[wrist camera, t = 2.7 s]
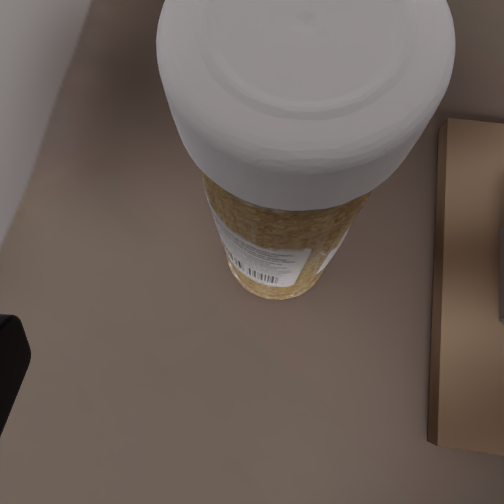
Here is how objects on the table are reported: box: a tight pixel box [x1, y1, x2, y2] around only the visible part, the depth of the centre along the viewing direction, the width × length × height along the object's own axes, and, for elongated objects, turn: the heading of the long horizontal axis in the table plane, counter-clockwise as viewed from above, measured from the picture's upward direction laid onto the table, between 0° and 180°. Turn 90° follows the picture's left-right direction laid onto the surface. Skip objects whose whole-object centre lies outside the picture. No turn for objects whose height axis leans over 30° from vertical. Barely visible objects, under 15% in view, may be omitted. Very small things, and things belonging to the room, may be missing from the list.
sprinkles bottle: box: [156, 0, 455, 300], centre depth 13 cm, size 5×5×14 cm
